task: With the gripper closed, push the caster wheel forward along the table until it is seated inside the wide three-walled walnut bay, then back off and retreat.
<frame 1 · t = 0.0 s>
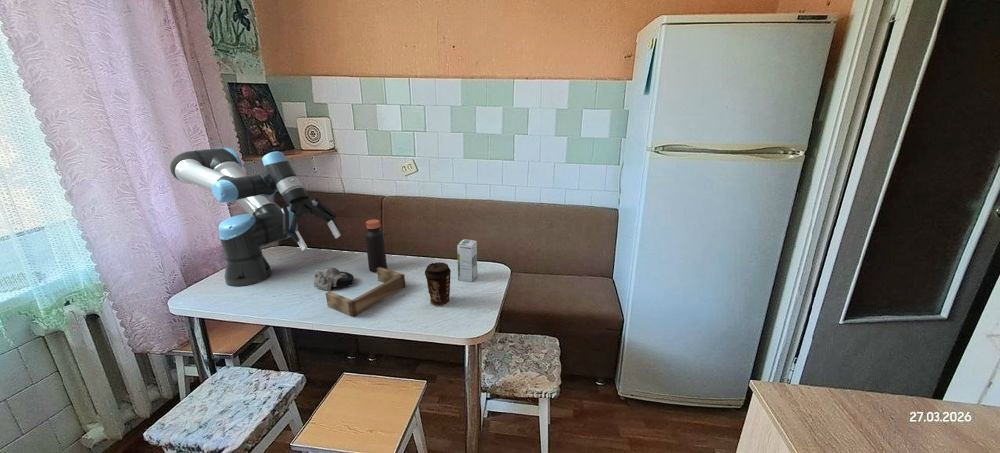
hand: (322, 242, 142), 15 cm above the table, tool tilted 35°, fingers open, 13 cm apart
syrup box: (468, 278, 149), on the table
bottle: (378, 269, 156), on the table
coffee cup: (439, 302, 133), on the table
caster wheel: (337, 285, 144), on the table
bay: (366, 295, 136), on the table
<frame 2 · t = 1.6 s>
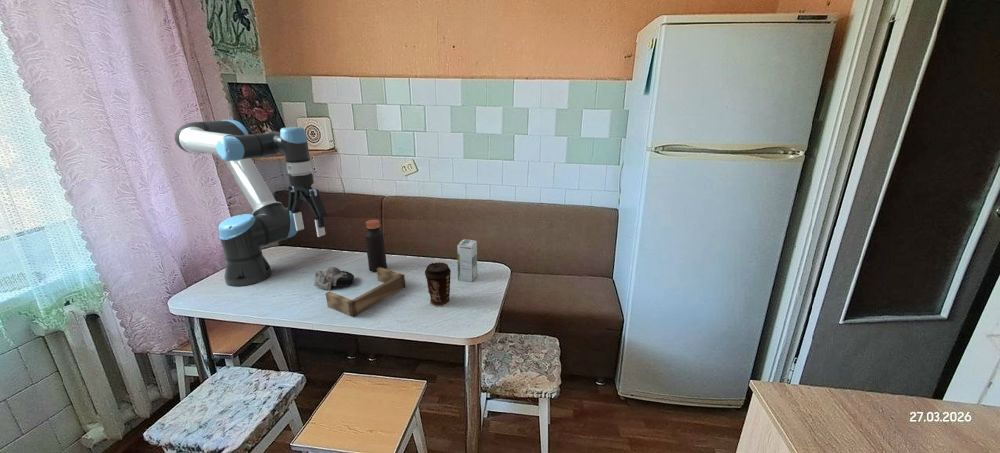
hand: (310, 232, 143), 18 cm above the table, tool pointing down, fingers open, 12 cm apart
nothing on the table moved.
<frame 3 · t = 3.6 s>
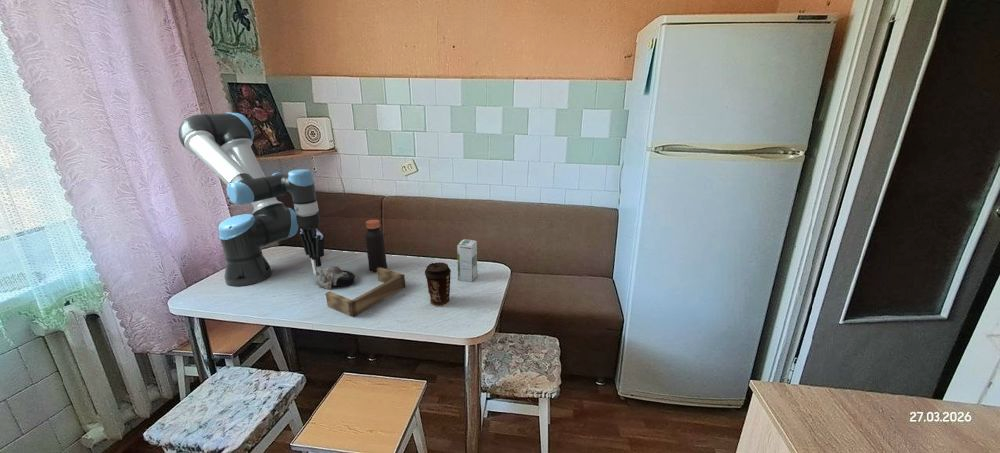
hand: (318, 273, 148), 2 cm above the table, tool pointing down, fingers closed
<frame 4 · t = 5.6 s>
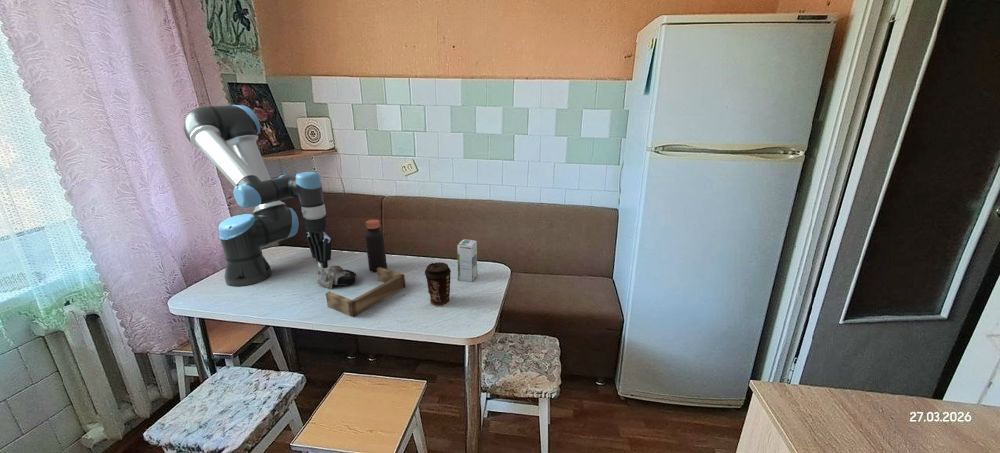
hand: (325, 276, 147), 2 cm above the table, tool pointing down, fingers closed
caster wheel: (339, 283, 146), on the table, touching gripper
everything else where it was.
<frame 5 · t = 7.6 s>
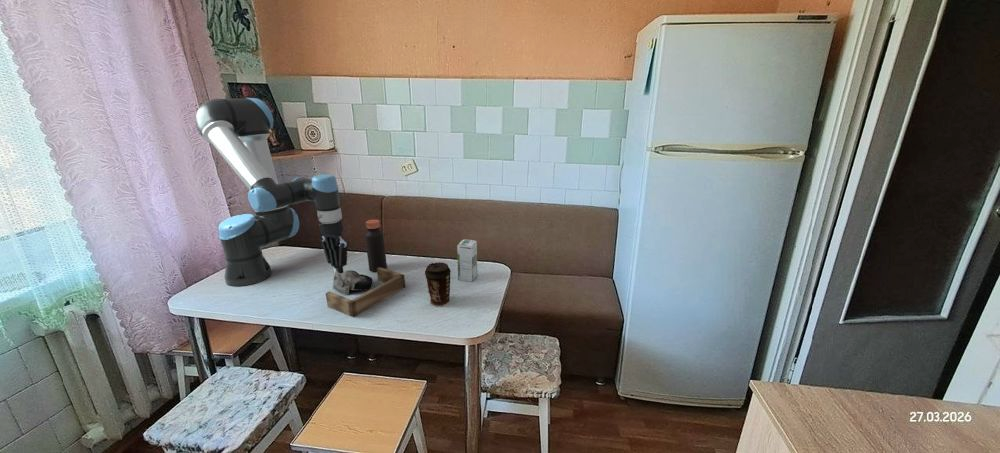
hand: (340, 282, 143), 2 cm above the table, tool pointing down, fingers closed
caster wheel: (355, 288, 142), on the table, touching gripper
everything else where it was.
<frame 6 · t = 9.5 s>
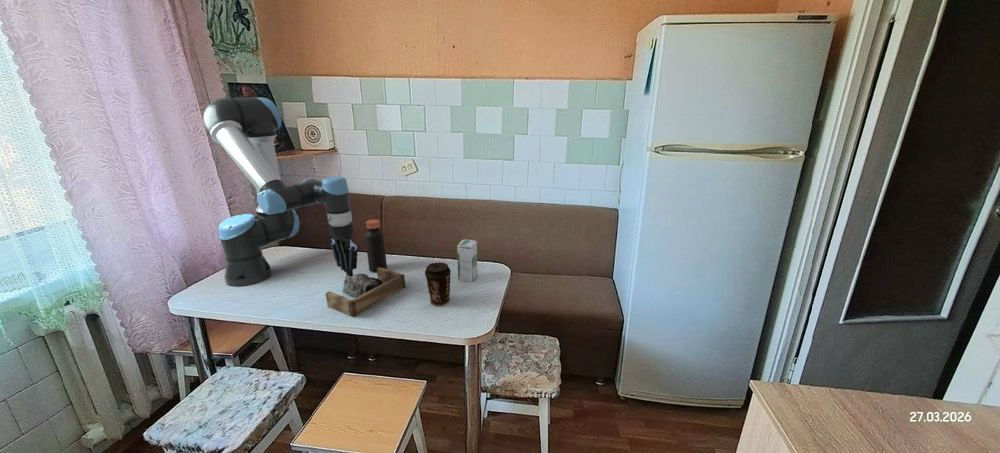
hand: (349, 286, 140), 1 cm above the table, tool pointing down, fingers closed
caster wheel: (366, 292, 139), on the table, touching gripper
everything else where it was.
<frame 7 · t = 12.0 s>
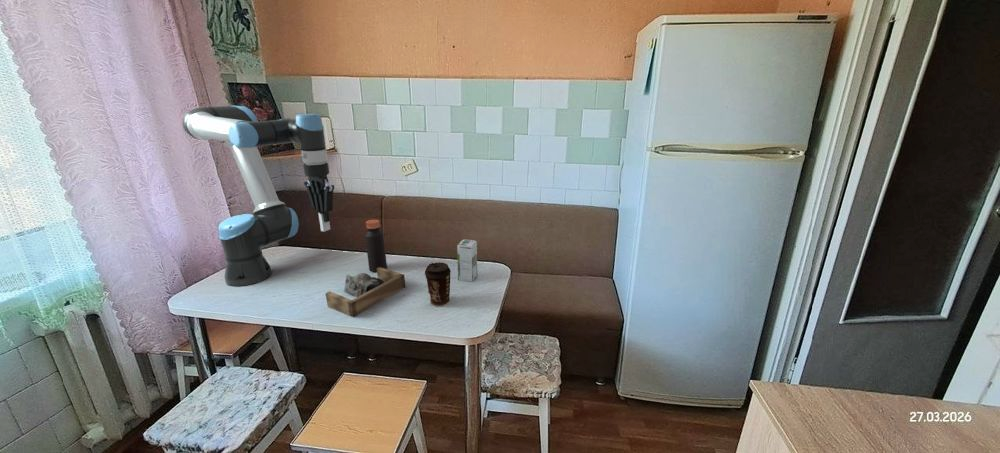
hand: (325, 230, 138), 21 cm above the table, tool pointing down, fingers closed
caster wheel: (367, 291, 140), on the table
everything else where it was.
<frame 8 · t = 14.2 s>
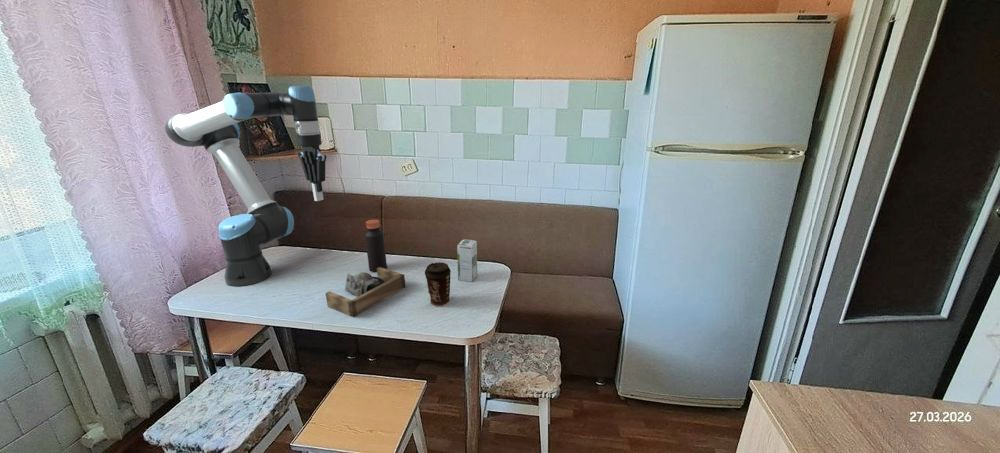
hand: (319, 200, 143), 29 cm above the table, tool pointing down, fingers closed
nothing on the table moved.
at the end: caster wheel inside the target area on the bay (3.6 cm from its centre), point 0.0 cm above the bay's base; caster wheel moved 13.5 cm from its start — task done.
